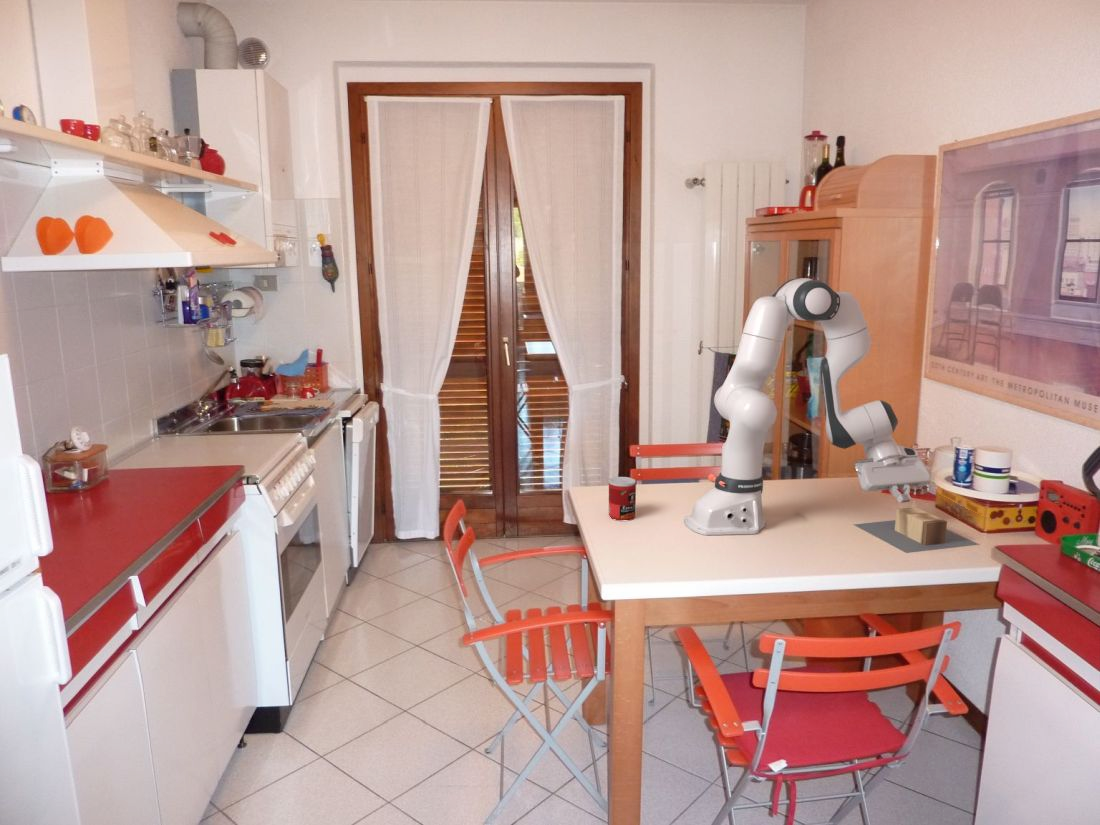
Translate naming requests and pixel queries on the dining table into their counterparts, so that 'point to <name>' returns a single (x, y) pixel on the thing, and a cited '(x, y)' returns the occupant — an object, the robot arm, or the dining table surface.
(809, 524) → the dining table surface
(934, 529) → the maple block
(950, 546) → the rubber mat
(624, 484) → the canned food
